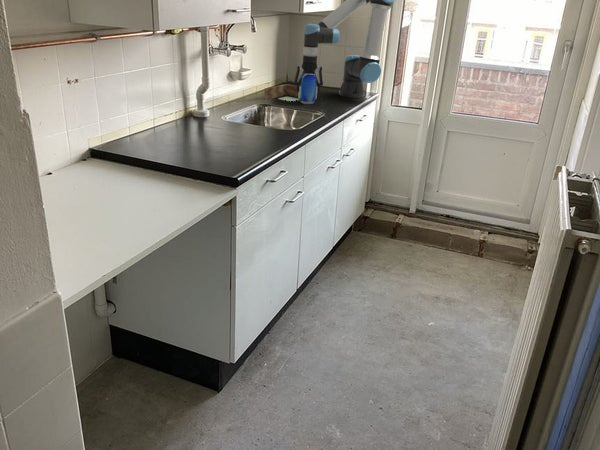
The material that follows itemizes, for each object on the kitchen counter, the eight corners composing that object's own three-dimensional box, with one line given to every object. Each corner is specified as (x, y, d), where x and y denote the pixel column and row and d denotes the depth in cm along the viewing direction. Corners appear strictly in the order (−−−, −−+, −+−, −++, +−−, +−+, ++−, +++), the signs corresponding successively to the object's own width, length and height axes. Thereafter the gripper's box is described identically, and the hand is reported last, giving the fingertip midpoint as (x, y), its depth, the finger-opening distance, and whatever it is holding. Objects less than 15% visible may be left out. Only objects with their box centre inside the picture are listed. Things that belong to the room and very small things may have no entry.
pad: (287, 96, 304) (287, 96, 303) (300, 99, 299) (300, 99, 299) (278, 99, 297) (278, 98, 297) (290, 101, 292) (290, 101, 292)
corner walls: (285, 94, 309) (286, 83, 307) (309, 99, 301) (309, 88, 298) (264, 99, 294) (264, 88, 292) (287, 104, 286) (288, 93, 283)
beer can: (311, 100, 298) (313, 71, 291) (316, 104, 291) (319, 74, 284) (297, 101, 295) (299, 71, 288) (302, 104, 288) (304, 74, 281)
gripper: (291, 55, 277) (289, 99, 287) (331, 57, 281) (327, 100, 290) (289, 53, 284) (287, 96, 293) (328, 54, 287) (324, 97, 297)
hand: (307, 98), depth 292 cm, fingers closed on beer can, 8 cm apart
